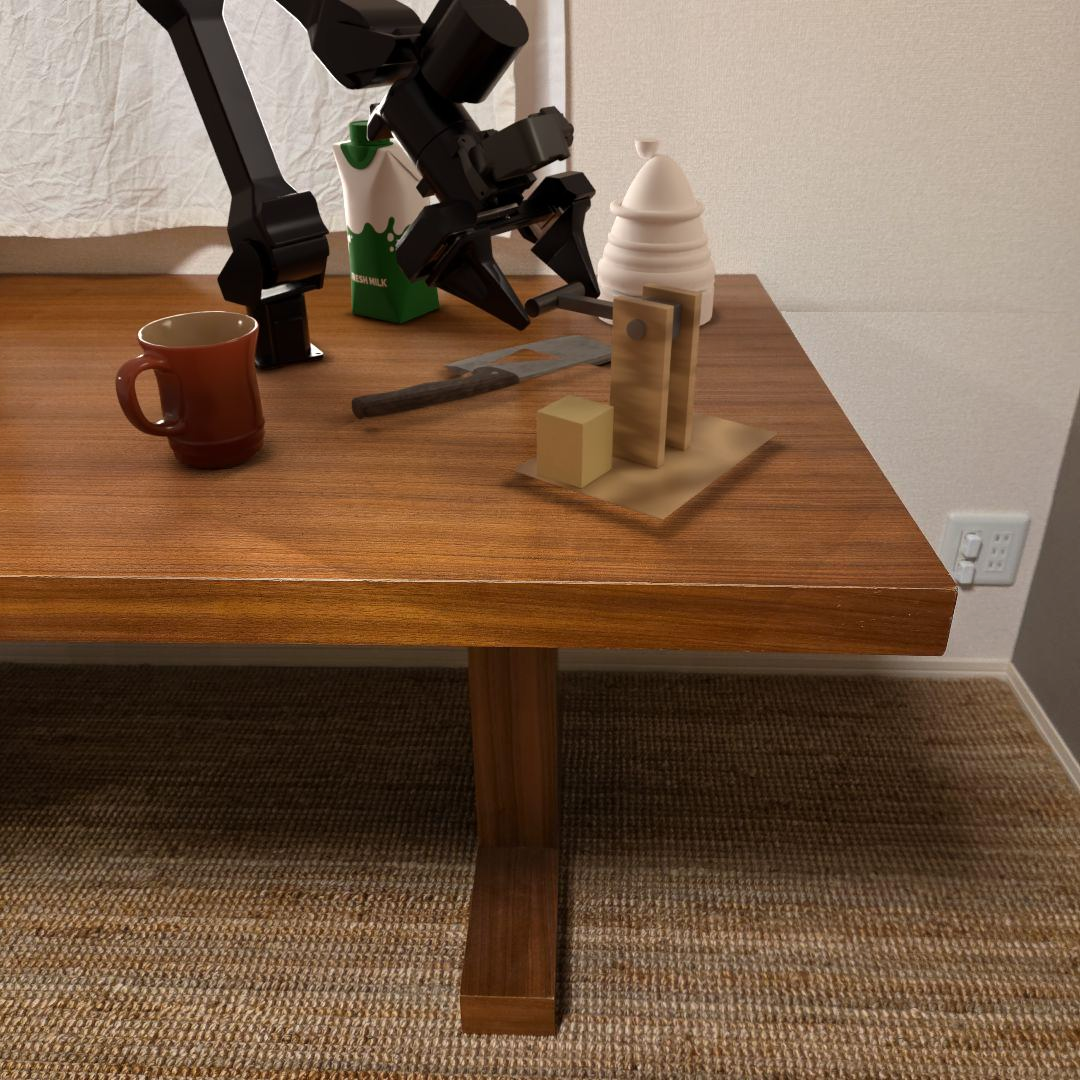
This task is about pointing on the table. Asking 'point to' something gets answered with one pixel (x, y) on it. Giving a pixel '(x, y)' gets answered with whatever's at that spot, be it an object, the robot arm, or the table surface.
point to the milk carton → (380, 225)
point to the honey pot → (657, 235)
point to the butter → (574, 440)
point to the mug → (200, 387)
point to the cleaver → (485, 375)
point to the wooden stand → (660, 411)
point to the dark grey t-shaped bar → (586, 304)
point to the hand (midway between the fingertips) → (562, 312)
